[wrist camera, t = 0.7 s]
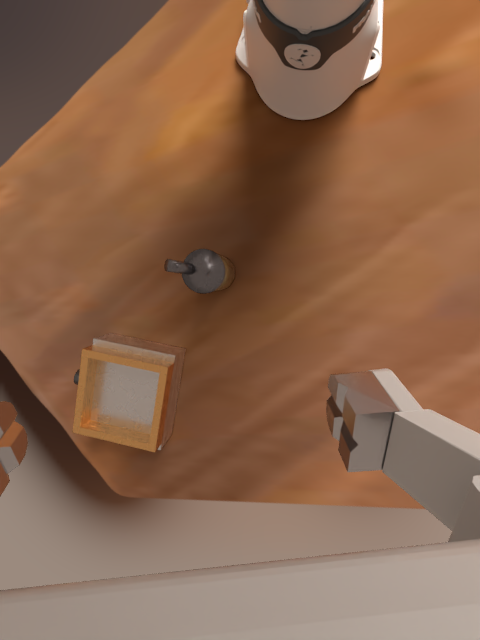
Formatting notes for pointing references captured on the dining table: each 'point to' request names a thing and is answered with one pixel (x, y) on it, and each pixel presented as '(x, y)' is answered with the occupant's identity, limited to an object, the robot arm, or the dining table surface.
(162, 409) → the open wooden box
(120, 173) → the dining table surface
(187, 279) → the glass jar with lid
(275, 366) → the dining table surface
